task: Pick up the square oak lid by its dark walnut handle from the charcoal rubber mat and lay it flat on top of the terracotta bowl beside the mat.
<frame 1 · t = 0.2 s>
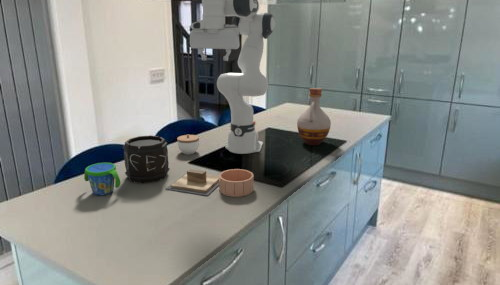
hand: (214, 60, 150), 47 cm above the worktop, tool pointing down, fingers open, 8 cm apart
lid: (196, 177, 149), on the mat
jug: (312, 143, 202), on the worktop
snack cup: (103, 192, 142), on the worktop
mat: (197, 183, 150), on the worktop
lidded jar: (188, 152, 187), on the worktop
bowl: (236, 189, 144), on the worktop
wooden barrel: (148, 177, 157), on the worktop
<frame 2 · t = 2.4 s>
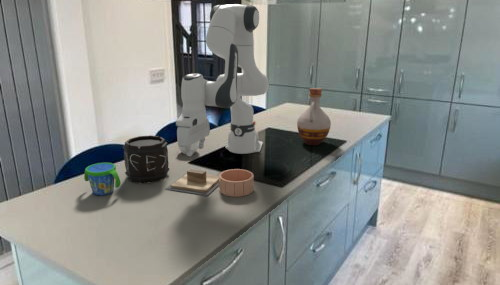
hand: (195, 152, 145), 14 cm above the worktop, tool pointing down, fingers open, 8 cm apart
nothing on the worktop moved.
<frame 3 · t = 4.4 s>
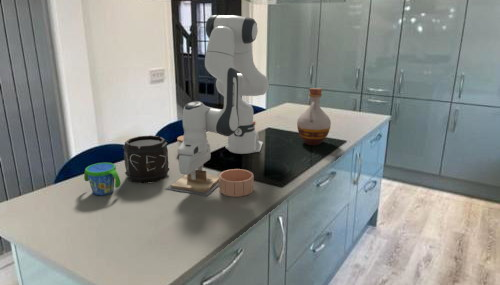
hand: (196, 177, 149), 3 cm above the worktop, tool pointing down, fingers closed on lid, 3 cm apart
lid: (196, 177, 149), on the mat, touching gripper
everything else where it was.
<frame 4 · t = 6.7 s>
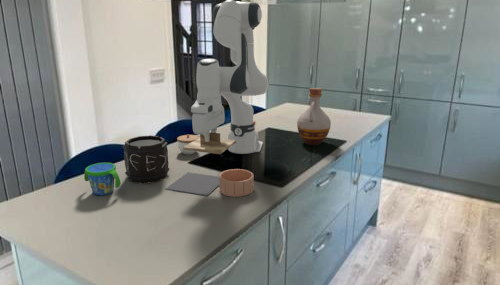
hand: (210, 139, 142), 19 cm above the worktop, tool pointing down, fingers closed on lid, 3 cm apart
lid: (210, 139, 142), point 19 cm above the worktop, touching gripper
everything else where it was.
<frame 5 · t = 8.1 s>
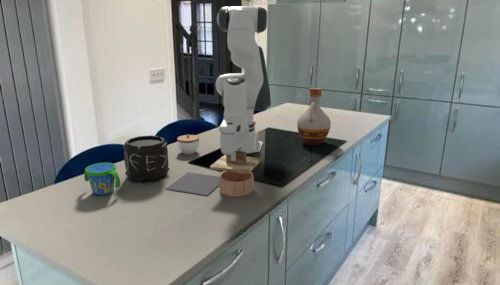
hand: (236, 158, 141), 13 cm above the worktop, tool pointing down, fingers closed on lid, 3 cm apart
lid: (236, 158, 141), point 13 cm above the worktop, touching gripper
everything else where it was.
when the fingers open (10 cm above the worktop, at t = 9.3 s): lid drops 1 cm, resting on bowl.
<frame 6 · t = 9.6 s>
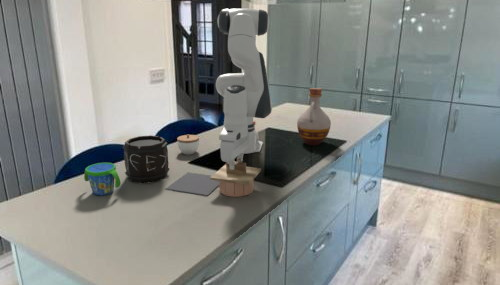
hand: (236, 165, 141), 10 cm above the worktop, tool pointing down, fingers open, 6 cm apart
lid: (236, 169, 142), on the bowl, point 8 cm above the worktop
everything else where it was.
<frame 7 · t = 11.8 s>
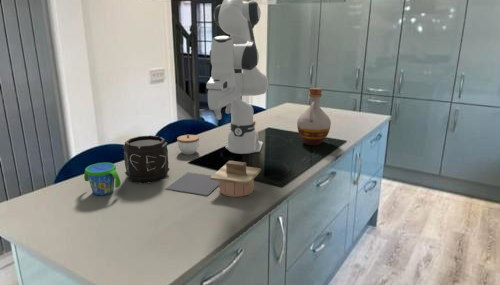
hand: (223, 116, 146), 27 cm above the worktop, tool pointing down, fingers open, 8 cm apart
nothing on the worktop moved.
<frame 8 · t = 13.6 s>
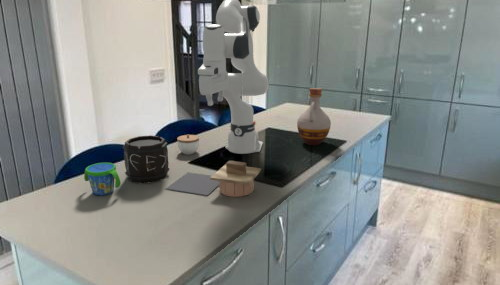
hand: (215, 103, 149), 31 cm above the worktop, tool pointing down, fingers open, 8 cm apart
nothing on the worktop moved.
at the end: lid 0.1 cm off-centre on the bowl, point 8.5 cm above the bowl's base; lid tilted 0°; the gripper is holding nothing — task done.
